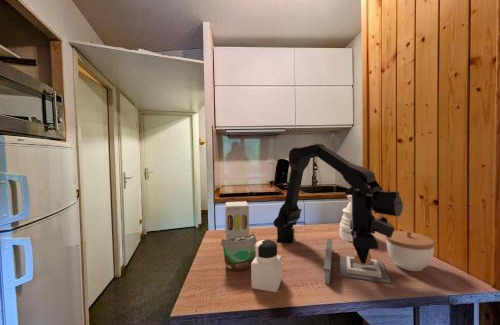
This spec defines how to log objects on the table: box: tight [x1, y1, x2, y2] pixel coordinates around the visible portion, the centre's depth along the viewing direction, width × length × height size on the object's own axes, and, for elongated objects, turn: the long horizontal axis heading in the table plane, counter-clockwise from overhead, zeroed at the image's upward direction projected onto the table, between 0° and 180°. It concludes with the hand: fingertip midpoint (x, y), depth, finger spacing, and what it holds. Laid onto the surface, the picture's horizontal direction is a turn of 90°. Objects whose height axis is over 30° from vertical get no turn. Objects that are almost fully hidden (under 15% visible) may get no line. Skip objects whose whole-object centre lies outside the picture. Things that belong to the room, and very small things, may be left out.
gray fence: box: [323, 238, 333, 286], centre depth 75 cm, size 2×24×4 cm, turn 159°
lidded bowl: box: [385, 230, 435, 272], centre depth 73 cm, size 13×13×11 cm
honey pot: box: [339, 194, 374, 243], centre depth 99 cm, size 13×13×18 cm
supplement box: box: [224, 200, 250, 240], centre depth 95 cm, size 10×9×17 cm
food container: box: [220, 232, 258, 273], centre depth 74 cm, size 12×6×10 cm, turn 117°
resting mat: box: [339, 255, 392, 285], centre depth 72 cm, size 13×13×2 cm
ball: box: [353, 250, 372, 265], centre depth 72 cm, size 5×5×5 cm
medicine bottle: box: [250, 239, 283, 293], centre depth 65 cm, size 7×7×12 cm
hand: (362, 259), depth 72 cm, fingers closed on ball, 5 cm apart
